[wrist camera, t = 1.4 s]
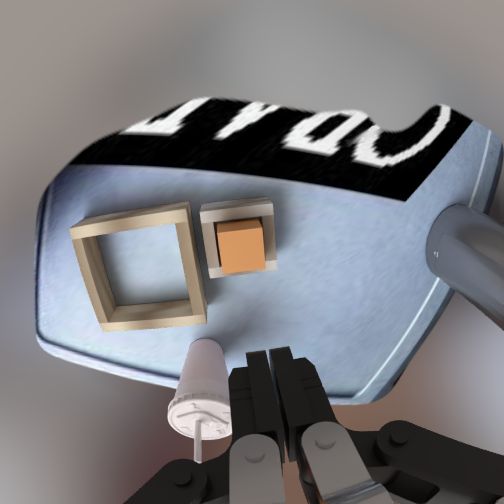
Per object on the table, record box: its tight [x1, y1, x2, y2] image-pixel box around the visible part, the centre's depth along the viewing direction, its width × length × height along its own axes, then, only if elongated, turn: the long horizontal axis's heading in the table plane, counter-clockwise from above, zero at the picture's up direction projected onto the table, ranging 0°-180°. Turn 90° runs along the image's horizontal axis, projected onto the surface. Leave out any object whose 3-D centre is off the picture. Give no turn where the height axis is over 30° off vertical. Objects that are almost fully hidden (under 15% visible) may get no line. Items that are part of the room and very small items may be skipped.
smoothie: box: [168, 339, 232, 463], centre depth 24 cm, size 6×6×14 cm
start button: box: [217, 219, 266, 274], centre depth 23 cm, size 3×3×2 cm
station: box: [69, 196, 277, 332], centre depth 25 cm, size 17×10×3 cm, turn 95°
